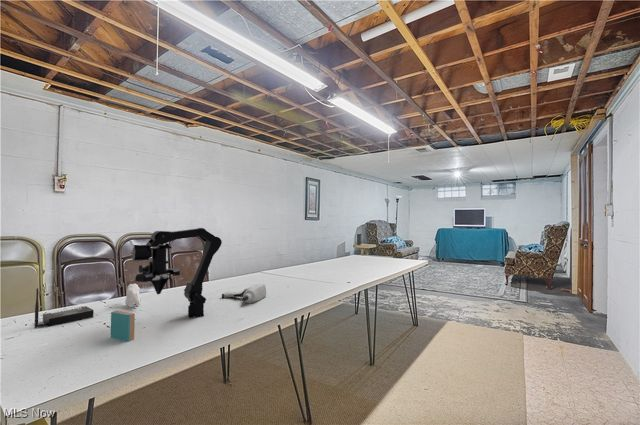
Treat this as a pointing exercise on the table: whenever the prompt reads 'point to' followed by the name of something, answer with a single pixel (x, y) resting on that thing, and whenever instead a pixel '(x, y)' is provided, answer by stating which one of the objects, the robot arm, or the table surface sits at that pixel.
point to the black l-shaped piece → (62, 315)
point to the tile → (122, 325)
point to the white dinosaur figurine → (133, 295)
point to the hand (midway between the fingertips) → (158, 294)
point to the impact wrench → (249, 293)
